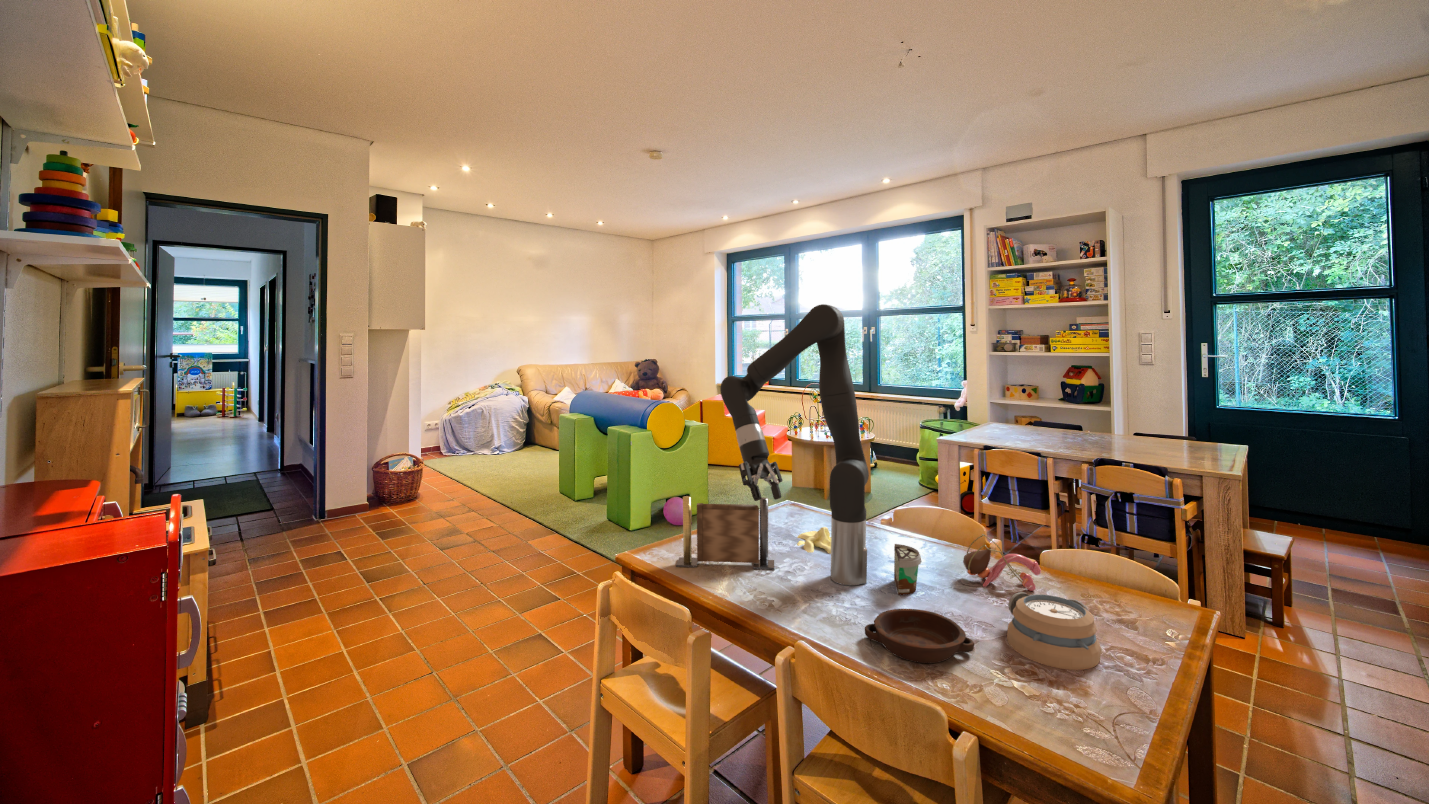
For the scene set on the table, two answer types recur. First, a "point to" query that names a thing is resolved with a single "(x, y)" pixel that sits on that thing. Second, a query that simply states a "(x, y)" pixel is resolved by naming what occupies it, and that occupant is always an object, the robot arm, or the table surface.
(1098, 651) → the alarm clock
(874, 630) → the dish
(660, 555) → the table surface
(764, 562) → the gate frame
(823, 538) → the cloth
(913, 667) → the table surface
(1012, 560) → the anatomy model
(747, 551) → the gate panel
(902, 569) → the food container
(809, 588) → the table surface
